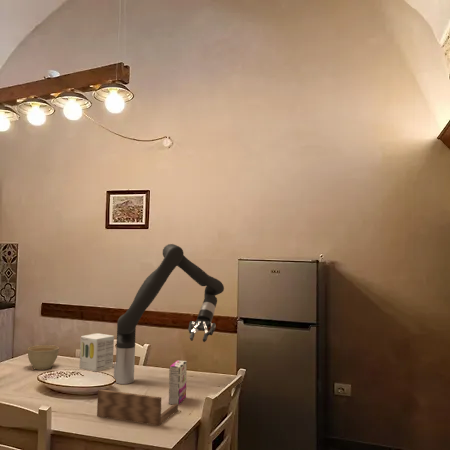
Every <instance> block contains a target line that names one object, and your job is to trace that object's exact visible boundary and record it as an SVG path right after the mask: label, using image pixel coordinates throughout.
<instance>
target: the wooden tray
mask: <svg viewBox="0 0 450 450" xmlns="http://www.w3.org/2000/svg"><path fill="white" fill-rule="evenodd" d="M96 407H97V408H96V409H97V410H96V417H100V416H102V417H103V418H107V417H108V418H109V419H114V418H115V419H114V420H121V421H126V422H132V423H133V422H134V423H141V424H146V425H147V423H148V425H154V426H160V425H161V424H163V423H164V422H165V421H166V420H167V418H168V417H169V418H170V417H171V416H173V413H174V414H175V413H176V412H178V410H179V405H178V404H174V405H172V404H171V406H169V407H168V408H167V409H166V410H164V411H163V412H162V397H160V396H152V395H146V394H145V395H144V394H138V393H129V392H122V391H116V390H108V389H98V390H97V406H96ZM102 417H101V418H102ZM162 422H163V423H162Z"/></svg>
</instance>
